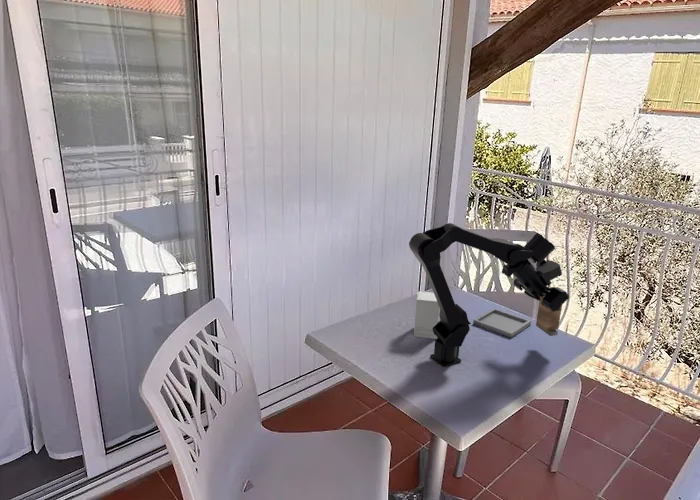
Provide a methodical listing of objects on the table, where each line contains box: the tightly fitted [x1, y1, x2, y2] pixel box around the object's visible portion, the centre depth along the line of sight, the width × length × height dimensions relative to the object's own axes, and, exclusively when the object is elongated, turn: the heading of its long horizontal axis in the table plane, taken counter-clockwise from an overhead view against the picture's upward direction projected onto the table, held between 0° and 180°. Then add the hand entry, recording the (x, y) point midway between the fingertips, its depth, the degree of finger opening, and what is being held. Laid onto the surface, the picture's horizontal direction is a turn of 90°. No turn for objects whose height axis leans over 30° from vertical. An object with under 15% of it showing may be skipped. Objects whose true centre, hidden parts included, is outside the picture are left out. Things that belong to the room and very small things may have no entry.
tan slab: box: [535, 286, 563, 337], centre depth 144 cm, size 4×7×13 cm, turn 14°
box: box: [472, 308, 532, 339], centre depth 162 cm, size 14×14×2 cm
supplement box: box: [413, 291, 440, 339], centre depth 153 cm, size 7×7×13 cm
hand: (554, 306), depth 144 cm, fingers closed on tan slab, 4 cm apart
